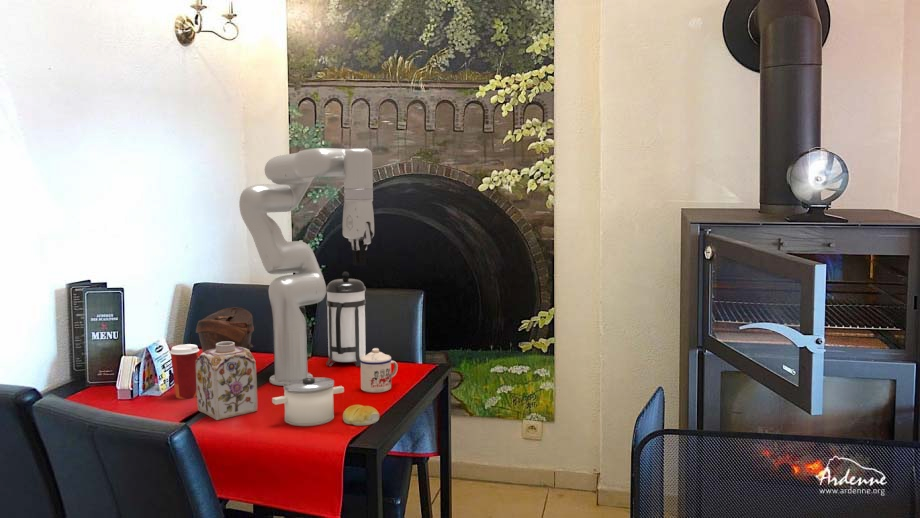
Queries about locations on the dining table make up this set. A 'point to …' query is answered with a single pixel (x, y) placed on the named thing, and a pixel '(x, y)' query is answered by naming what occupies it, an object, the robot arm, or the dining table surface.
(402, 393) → the dining table surface
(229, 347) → the decorative jar
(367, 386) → the teacup with lid
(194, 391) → the paper cup
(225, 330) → the case
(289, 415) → the pot
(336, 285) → the coffee press
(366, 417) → the bread roll
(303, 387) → the lid
